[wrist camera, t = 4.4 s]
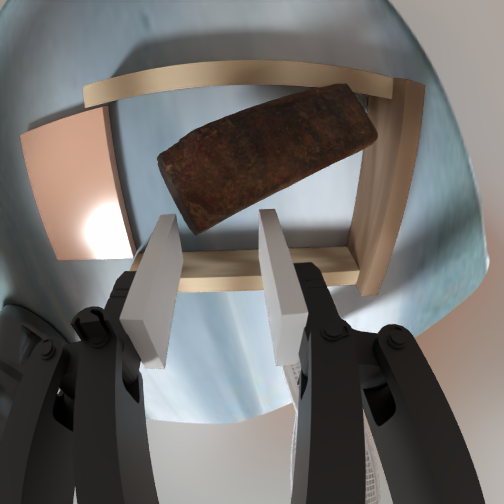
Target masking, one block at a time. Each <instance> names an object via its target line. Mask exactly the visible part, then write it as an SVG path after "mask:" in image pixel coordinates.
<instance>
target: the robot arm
mask: <svg viewBox="0 0 504 504" xmlns="http://www.w3.org/2000/svg"><path fill="white" fill-rule="evenodd" d="M183 261H184V260H183V254H182V249H181V243H180V237H179V231H178V225H177V218H176V214H168V215H161V216H160V218H159V220H158V222H157V224H156V227H155V229H154V231H153V233H152V236H151V238H150V240H149V242H148V245H147V247H146V250H145V252H144V254H143V257H142V259H141V262H140V264H139V267H138V269H137V271H125V272H124V273H123V274H122V275H121V276H120V277H119V278H118V279H117V280H116V283H115V285H114V287H113V291H112V292H111V294H110V298H109V299H108V301H107V304H106V306H105V309H102V308H100V307H88V308H85V309H83V310H82V311H80V312H79V313H78V314H77V315H76V316H75V317H74V318H73V320H72V323H71V325H72V327H73V328H74V330H75V331H76V333H77V335H78V336H79V338H80V339H81V341H79V342H74V343H70V344H68V343H67V342H66V341H65V339H64V338H63V337H62V336H61V335H60V334H59V333H58V332H57V331H56V330H55V329H54V328H52V327H51V326H50V325H49V324H48V323H46V322H45V321H44V320H42V319H41V318H40V317H38V316H37V315H35V314H33V313H32V312H30V311H28V310H26V309H24V308H22V307H19V306H16V305H5V306H4V307H3V308H2V310H1V311H0V504H73V498H74V490H75V487H76V496H77V503H78V504H159V501H158V497H157V492H156V487H155V482H154V476H153V471H152V465H151V458H150V452H149V444H148V437H147V428H146V418H145V407H144V394H143V379H142V375H141V373H140V371H139V367H140V362H142V363H143V365H144V367H145V368H148V369H165V365H166V358H167V351H168V344H169V338H170V331H171V325H172V319H173V313H174V308H175V302H176V297H177V291H178V286H179V281H180V276H181V271H182V266H183ZM259 262H260V268H261V275H262V281H263V287H264V293H265V300H266V306H267V312H268V318H269V325H270V331H271V337H272V344H273V350H274V357H275V363H276V366H282V365H292V364H297V362H298V358H299V359H300V363H301V371H300V375H299V378H298V382H297V385H299V403H298V423H297V439H296V453H295V466H294V477H293V488H292V498H291V504H365V500H366V458H365V434H364V419H363V409H364V412H365V415H366V418H367V421H368V424H369V427H370V430H371V433H372V436H373V438H374V441H375V445H376V448H377V451H378V454H379V457H380V460H381V463H382V467H383V470H384V473H385V476H386V480H387V483H388V487H389V490H390V493H391V497H392V501H393V504H485V501H484V497H483V493H482V490H481V487H480V483H479V480H478V477H477V474H476V470H475V468H474V465H473V462H472V459H471V456H470V453H469V451H468V448H467V446H466V443H465V440H464V438H463V436H462V433H461V431H460V428H459V426H458V424H457V421H456V419H455V417H454V414H453V412H452V410H451V408H450V406H449V404H448V401H447V399H446V397H445V395H444V393H443V391H442V389H441V387H440V385H439V383H438V381H437V379H436V377H435V375H434V373H433V372H432V369H431V367H430V366H429V364H428V362H427V360H426V358H425V356H424V355H423V353H422V351H421V349H420V347H419V346H418V344H417V342H416V340H415V338H414V337H413V335H412V334H411V333H410V332H409V330H407V329H406V328H404V327H403V326H400V325H396V324H388V325H386V326H384V327H382V328H381V330H380V331H379V332H378V333H370V332H362V331H357V330H354V329H352V328H351V326H350V325H349V324H348V323H347V322H346V321H344V320H343V319H341V318H340V317H339V314H338V312H337V309H336V307H335V304H334V302H333V299H332V297H331V295H330V292H329V290H328V288H327V285H326V282H325V281H324V278H323V275H322V273H321V271H320V269H319V268H318V267H317V266H316V265H314V264H313V263H312V262H302V263H293V262H292V259H291V255H290V252H289V249H288V246H287V243H286V240H285V237H284V234H283V231H282V228H281V225H280V222H279V219H278V216H277V213H276V211H275V209H260V210H259ZM59 388H60V389H61V391H60V392H59V394H57V392H58V390H59Z"/></svg>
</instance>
